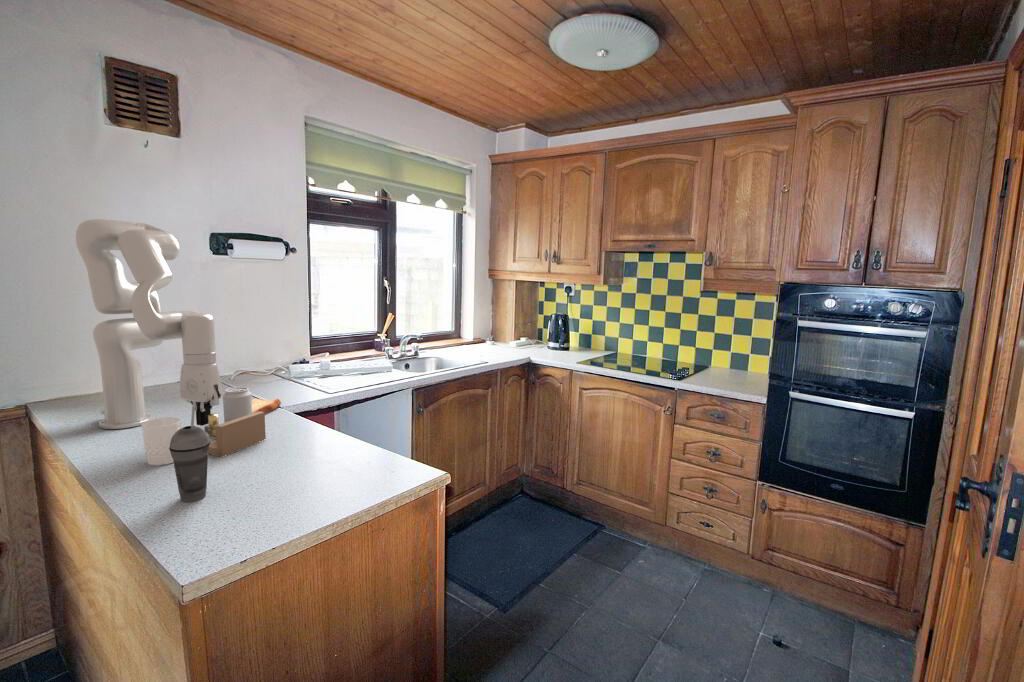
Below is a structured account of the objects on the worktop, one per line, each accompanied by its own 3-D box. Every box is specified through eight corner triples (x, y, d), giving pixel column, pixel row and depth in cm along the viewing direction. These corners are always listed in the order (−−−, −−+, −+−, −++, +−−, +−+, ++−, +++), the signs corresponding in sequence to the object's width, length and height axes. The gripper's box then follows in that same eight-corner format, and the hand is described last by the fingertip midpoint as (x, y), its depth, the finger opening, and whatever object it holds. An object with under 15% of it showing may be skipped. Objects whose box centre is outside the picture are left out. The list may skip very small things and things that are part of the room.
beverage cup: (185, 489, 108) (179, 401, 105) (219, 489, 109) (214, 401, 106) (164, 505, 101) (157, 411, 98) (202, 505, 102) (196, 411, 99)
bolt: (206, 434, 136) (205, 415, 135) (214, 432, 138) (213, 412, 137) (232, 439, 133) (231, 419, 132) (240, 436, 135) (239, 416, 134)
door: (149, 442, 135) (147, 414, 134) (196, 427, 148) (194, 401, 147) (223, 456, 127) (221, 426, 126) (265, 439, 140) (264, 412, 139)
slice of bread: (236, 425, 153) (235, 413, 152) (219, 411, 165) (218, 400, 165) (295, 414, 165) (294, 403, 165) (275, 402, 178) (274, 392, 177)
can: (240, 432, 145) (238, 392, 143) (218, 430, 146) (216, 390, 145) (258, 424, 152) (256, 386, 150) (237, 422, 154) (235, 385, 152)
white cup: (141, 468, 118) (138, 428, 117) (147, 457, 125) (144, 419, 124) (181, 463, 122) (178, 424, 120) (184, 452, 129) (182, 415, 127)
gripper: (166, 358, 133) (171, 424, 136) (208, 363, 129) (212, 431, 131) (191, 354, 140) (196, 417, 143) (232, 359, 136) (236, 423, 138)
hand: (204, 423), depth 137 cm, fingers closed
